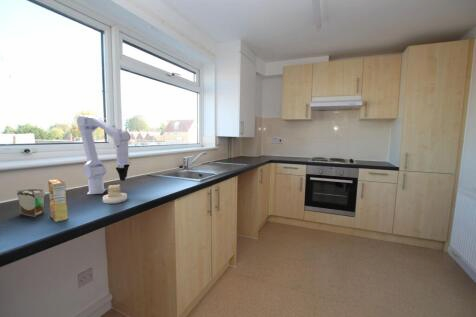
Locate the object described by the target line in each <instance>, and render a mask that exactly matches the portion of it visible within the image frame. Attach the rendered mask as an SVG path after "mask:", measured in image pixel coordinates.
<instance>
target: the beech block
mask: <svg viewBox="0 0 476 317" xmlns="http://www.w3.org/2000/svg"><path fill="white" fill-rule="evenodd" d="M121 193H122V192H121V184H112V185H111V184H110V185H108V187H107V194H108V197H119V196H120V194H121Z"/></svg>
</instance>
